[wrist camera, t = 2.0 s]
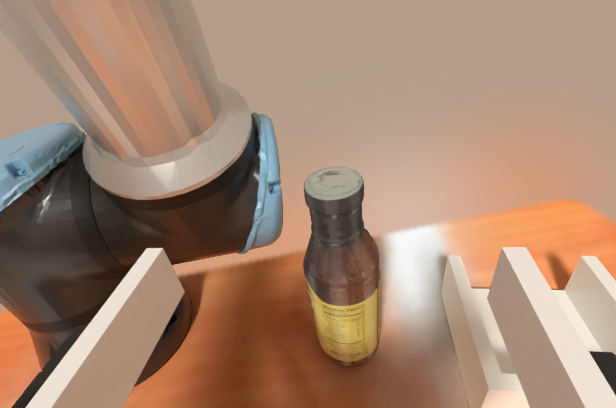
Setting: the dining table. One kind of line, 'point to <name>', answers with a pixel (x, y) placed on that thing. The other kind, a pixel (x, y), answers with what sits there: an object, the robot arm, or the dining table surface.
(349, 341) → the sauce bottle
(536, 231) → the dining table surface
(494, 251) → the dining table surface
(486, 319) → the bottle stand
